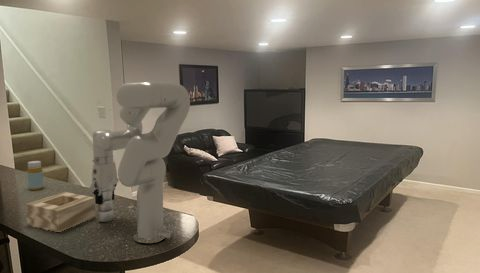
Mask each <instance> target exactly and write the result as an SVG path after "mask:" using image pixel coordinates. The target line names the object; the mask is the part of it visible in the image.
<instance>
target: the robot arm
mask: <svg viewBox="0 0 480 273" xmlns="http://www.w3.org/2000/svg"><path fill="white" fill-rule="evenodd" d="M116 101H117V103H118V104H119V106H120V107H121V109H120V111H119V116H120V119H121V120H122V121H123V122H124V124H127V125H128V126H127V127H126V128H125V129H123V130H116V131H115V130H113V131H111V130H110V129H109V130H108V129H97V130H94V131H93V132H92V148H93V149H92V150H93V154H92V155H93V159H92V163H93V164H92V169H91V184H90V186H89V188H88V190H89V191H90V192H91V193H92V194H93V195H94V200H95V205H98V204H99V205H102V195H101V192H102V189H104V188H107V187H108V186H109V185H113V193H112V201H114V200H115V191H116V187H117V184H118V183H119V182H120V183H121V185H123V186H124V187H129V188H132V187H133V188H134V187H137V186H138V187H137V191H136V219H137V220H136V221H137V227H136V228H137V232H138V237H140V238H144V239H147V238H158V237H160V238H161V237H164V238H166V239H168V238H169V237H170V238H171V235H172V230H168V229H167V225H165V224H164V180H165V174H166V167H167V166H166V163H165V160H164V159H163V158H165V157H167V156H168V155H169V154H170V152H171V150H172V148H173V146H174V144H175V141H176V139H177V137H178V134H179V131H180V129H181V128H182V126H183V124H184V122H185V121H186V119H187V117H188V114H189V112H190V106H191V102H190V94H189V92H188V90H187V89H186V87H184V86H183V85H182V84H179V83H176V82H167V81H164V82H163V81H162V82H161V81H145V82H143V81H140V82H126V83H123V84H122V85H121V86H119V88H118V90H117V92H116ZM160 108H161V109H162V108H164V111H163V112H162V113H161V114H160V115H159V116H158V117H157V119H156V120H155V122H154V125H153V128H152V129H151V131H150V132H146V133H143V123H142V121H143V120H144V118H145V117H146V115H147V114H148V112H150V110H151V109H160ZM119 150H124V152H123V153H122V154H123V155H122V157H121V160H120V163H119V165H118V169H117V165H116V162H115V161H114V151H119ZM97 189H99V191H98V190H97ZM170 238H169V239H170Z"/></svg>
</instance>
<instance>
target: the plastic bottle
mask: <svg viewBox="0 0 480 273" xmlns="http://www.w3.org/2000/svg"><path fill="white" fill-rule="evenodd" d="M97 190H98V191H99V189H97ZM112 193H113V185H109V186H108V187H107V188H104V189H102V192H101V195H102V205H99V204H97V206H98V207H97V214H96V219H97V221H99V222H100V223H106V222H110V221H113V219H114V216H115V212H114V209H113V208H114V207H113V206H114V205H113V200H112Z"/></svg>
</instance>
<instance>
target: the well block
mask: <svg viewBox="0 0 480 273" xmlns="http://www.w3.org/2000/svg"><path fill="white" fill-rule="evenodd" d="M95 205H96V203H95V196H94V197H93V196H89V195H83V194H79V193H72V192H68V191H67V192H66V191H63V192H59V193H57V194H54V195H50V196H46V197H44V198H40V199H37V200H33V201H31V202H28V203H25V213H26V225H27V226H29V227H33V228H36V227H37V229H40V228H42V229H41V230H44V229H45V231H48V230H50V231H49V232H52V231H54V232H53V233H56V232H61V233H63V232H65V231H67V230H66V229H68V230H70V229H72V228H75V227H77V226H79V225H81V224H83V223H82V222H84V223H85V221H86V222H88V221H90V220H93V219H94V217H95V218H96V208H95V207H96V206H95ZM92 218H93V219H92ZM87 220H88V221H87ZM80 223H81V224H80ZM78 224H79V225H78ZM76 225H77V226H76ZM71 227H72V228H71ZM69 228H70V229H69ZM64 230H65V231H64ZM62 231H63V232H62Z"/></svg>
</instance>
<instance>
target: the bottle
mask: <svg viewBox="0 0 480 273" xmlns="http://www.w3.org/2000/svg"><path fill="white" fill-rule="evenodd" d="M43 172H44V171H43V168H42V161H41V160H32V161H27V186H28V190H29V191H40V190H42V189H43V188H44V173H43Z"/></svg>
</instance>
